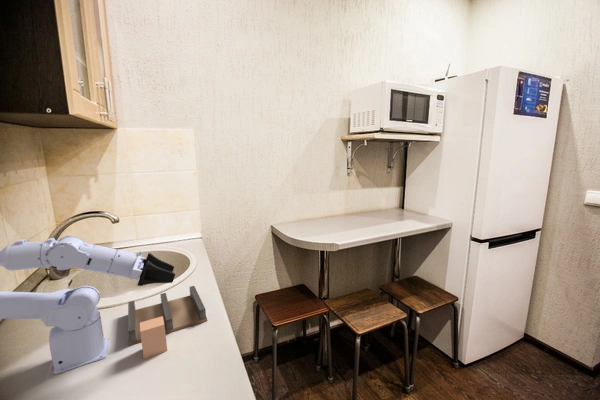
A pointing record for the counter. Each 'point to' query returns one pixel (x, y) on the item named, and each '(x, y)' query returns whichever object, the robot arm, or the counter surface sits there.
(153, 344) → the block
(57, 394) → the counter surface
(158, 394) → the counter surface
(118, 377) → the counter surface
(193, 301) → the rack
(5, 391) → the counter surface
